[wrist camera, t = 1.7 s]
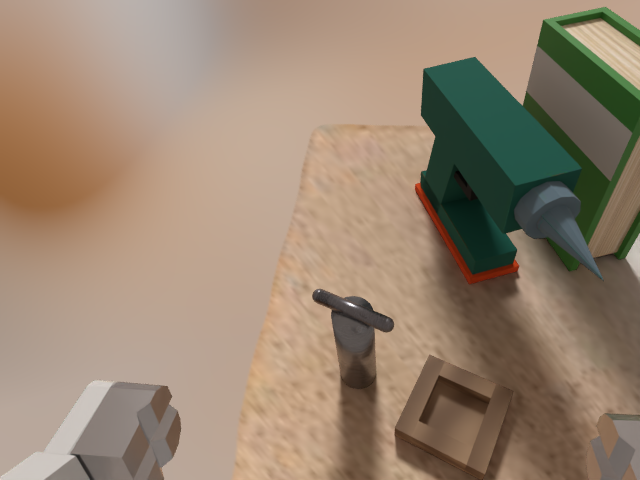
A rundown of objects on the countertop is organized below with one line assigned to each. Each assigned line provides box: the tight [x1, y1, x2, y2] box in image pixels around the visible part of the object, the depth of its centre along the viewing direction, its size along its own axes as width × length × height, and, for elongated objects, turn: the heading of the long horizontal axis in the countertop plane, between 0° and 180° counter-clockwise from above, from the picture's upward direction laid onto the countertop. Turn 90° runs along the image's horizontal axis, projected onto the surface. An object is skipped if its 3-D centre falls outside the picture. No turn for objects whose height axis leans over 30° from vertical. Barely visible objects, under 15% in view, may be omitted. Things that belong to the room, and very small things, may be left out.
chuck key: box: [312, 289, 394, 389], centre depth 50 cm, size 8×4×13 cm, turn 60°
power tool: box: [415, 57, 604, 284], centre depth 56 cm, size 32×7×20 cm, turn 14°
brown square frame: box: [395, 355, 513, 480], centre depth 50 cm, size 9×9×2 cm
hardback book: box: [523, 7, 640, 271], centre depth 58 cm, size 18×7×24 cm, turn 12°
